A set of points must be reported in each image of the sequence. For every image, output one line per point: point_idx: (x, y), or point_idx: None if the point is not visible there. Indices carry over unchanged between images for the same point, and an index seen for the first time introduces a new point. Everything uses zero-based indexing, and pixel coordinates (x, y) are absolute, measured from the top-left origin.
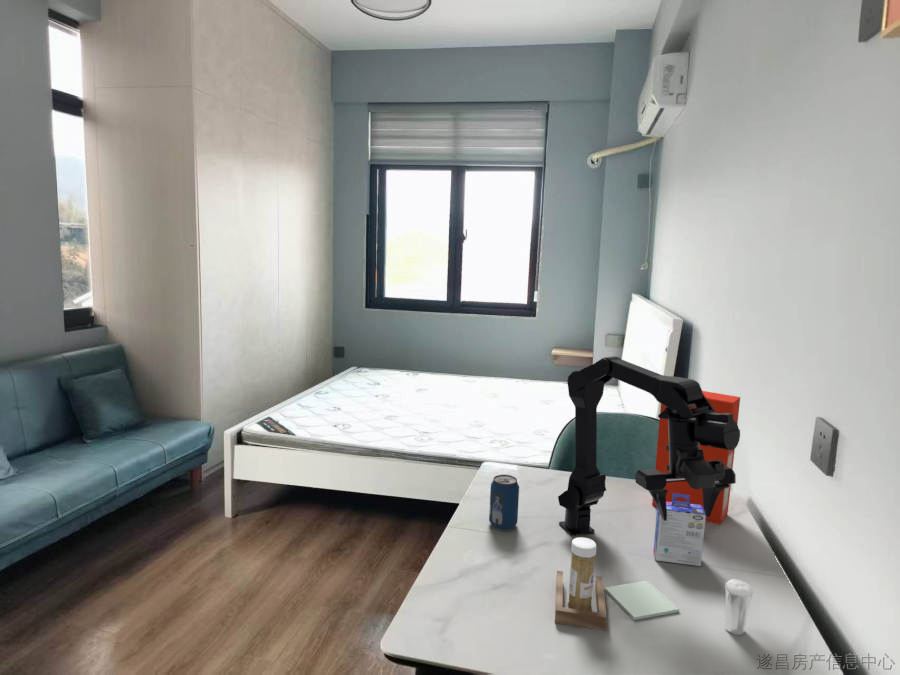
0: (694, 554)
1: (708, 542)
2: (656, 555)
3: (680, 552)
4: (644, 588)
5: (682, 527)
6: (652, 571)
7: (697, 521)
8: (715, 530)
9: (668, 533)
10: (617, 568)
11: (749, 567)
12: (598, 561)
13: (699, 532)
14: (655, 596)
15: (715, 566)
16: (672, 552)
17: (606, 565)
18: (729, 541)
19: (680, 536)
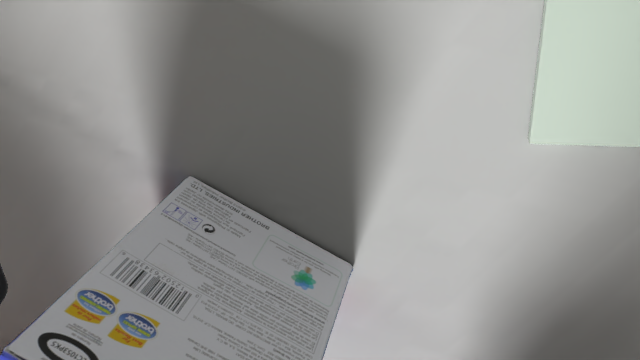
0: (192, 215)
1: None
2: (347, 279)
3: (247, 246)
4: (603, 85)
5: (188, 338)
6: (422, 208)
7: (86, 333)
8: None
9: (271, 340)
10: (572, 274)
11: (3, 116)
12: (618, 341)
13: (114, 279)
14: (604, 1)
15: (129, 159)
16: (279, 261)
17: (606, 308)
18: None
19: (218, 303)
